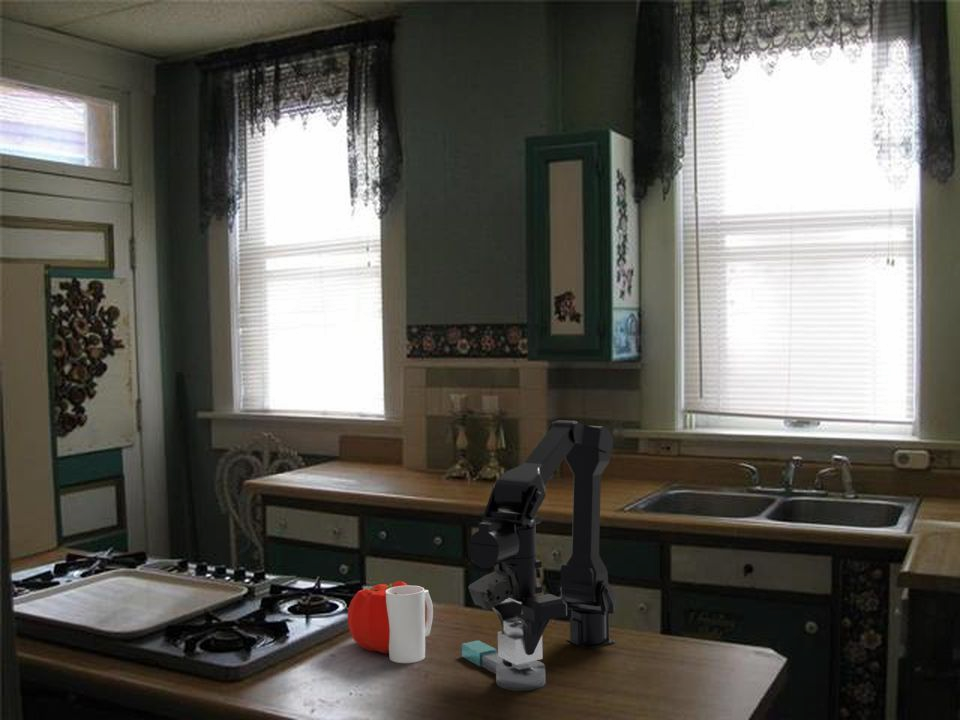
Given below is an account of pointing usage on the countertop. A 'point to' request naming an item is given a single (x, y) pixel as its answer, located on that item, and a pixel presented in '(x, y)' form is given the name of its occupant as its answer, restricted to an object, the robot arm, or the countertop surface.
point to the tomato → (371, 617)
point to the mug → (408, 622)
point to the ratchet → (505, 667)
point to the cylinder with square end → (516, 643)
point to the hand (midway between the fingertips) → (520, 650)
